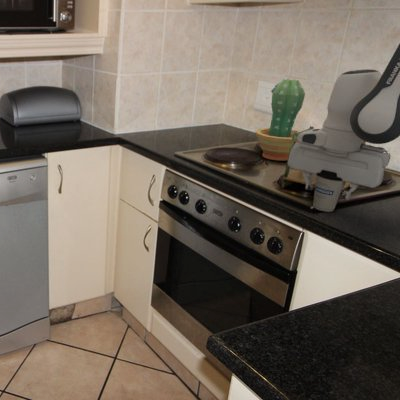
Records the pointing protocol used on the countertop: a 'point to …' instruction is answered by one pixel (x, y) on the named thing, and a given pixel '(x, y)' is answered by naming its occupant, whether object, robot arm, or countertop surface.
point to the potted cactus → (281, 120)
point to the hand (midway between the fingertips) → (326, 194)
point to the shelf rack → (297, 174)
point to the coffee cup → (327, 190)
